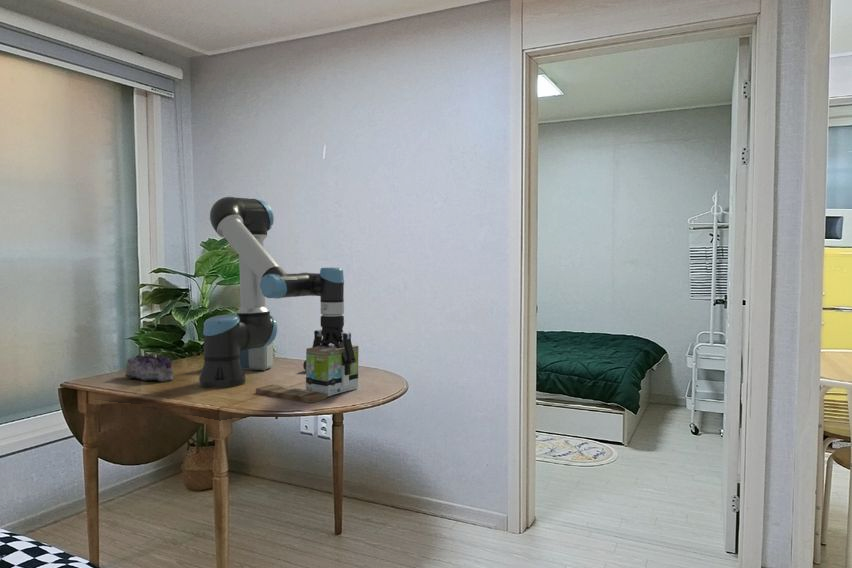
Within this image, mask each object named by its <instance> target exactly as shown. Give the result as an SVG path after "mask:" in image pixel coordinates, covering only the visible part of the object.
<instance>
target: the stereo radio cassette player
mask: <svg viewBox="0 0 852 568" xmlns="http://www.w3.org/2000/svg"><path fill="white" fill-rule="evenodd" d="M240 363H241V365H242V368H243V370H252V371H253V370H254V371H255V370H256V371H264V372H265V371H266V370H268V369H271V368H272V367H273V366H274V341H272V343H271V344H270V345H268V346H264V347H261V348H252V349H247V350H240Z"/></svg>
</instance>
